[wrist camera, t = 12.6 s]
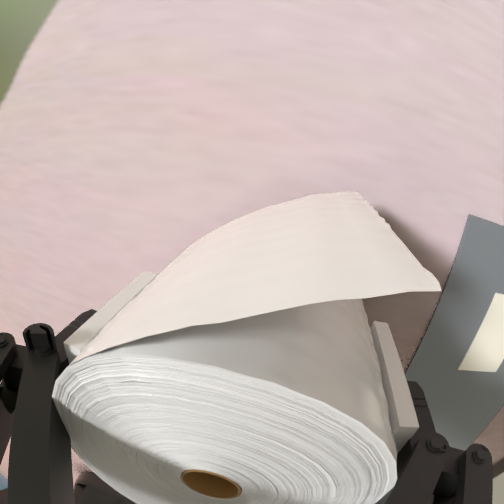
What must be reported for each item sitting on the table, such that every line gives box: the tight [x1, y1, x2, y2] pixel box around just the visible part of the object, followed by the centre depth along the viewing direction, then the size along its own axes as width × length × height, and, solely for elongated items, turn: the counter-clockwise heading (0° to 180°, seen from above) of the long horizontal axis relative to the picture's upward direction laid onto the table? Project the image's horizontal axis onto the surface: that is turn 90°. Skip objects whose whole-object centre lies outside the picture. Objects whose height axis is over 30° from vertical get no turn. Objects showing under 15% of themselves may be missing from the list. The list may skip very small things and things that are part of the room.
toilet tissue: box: [52, 191, 442, 504], centre depth 11 cm, size 11×12×10 cm
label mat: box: [405, 214, 504, 451], centre depth 19 cm, size 30×12×1 cm, turn 171°
